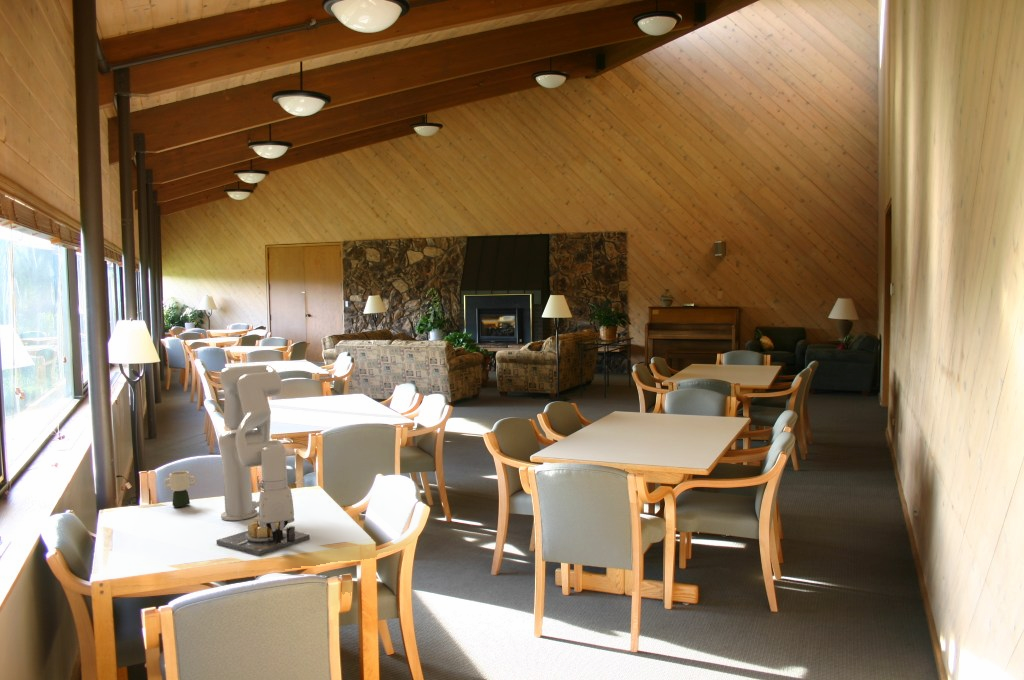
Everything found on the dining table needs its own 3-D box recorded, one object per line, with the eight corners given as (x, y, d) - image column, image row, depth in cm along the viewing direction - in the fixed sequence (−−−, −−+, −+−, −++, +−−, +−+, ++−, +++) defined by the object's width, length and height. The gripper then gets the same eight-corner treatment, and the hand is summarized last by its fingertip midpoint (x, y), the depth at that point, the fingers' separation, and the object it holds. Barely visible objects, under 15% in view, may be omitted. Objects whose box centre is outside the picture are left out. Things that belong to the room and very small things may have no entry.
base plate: (267, 529, 295) (266, 504, 294) (309, 539, 282) (308, 513, 281) (216, 544, 279) (215, 518, 278) (258, 556, 266) (257, 529, 265)
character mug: (197, 502, 334) (195, 469, 334) (195, 507, 328) (193, 473, 327) (167, 505, 331) (165, 472, 331) (165, 510, 325) (163, 476, 324)
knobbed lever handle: (242, 534, 280) (241, 521, 280) (270, 527, 288) (269, 514, 288) (279, 545, 267) (278, 531, 267) (307, 537, 275) (306, 523, 275)
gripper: (251, 490, 261) (254, 549, 263) (301, 484, 267) (304, 541, 269) (248, 485, 268) (251, 542, 269) (296, 479, 274) (299, 535, 276)
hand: (277, 542), depth 269 cm, fingers closed
